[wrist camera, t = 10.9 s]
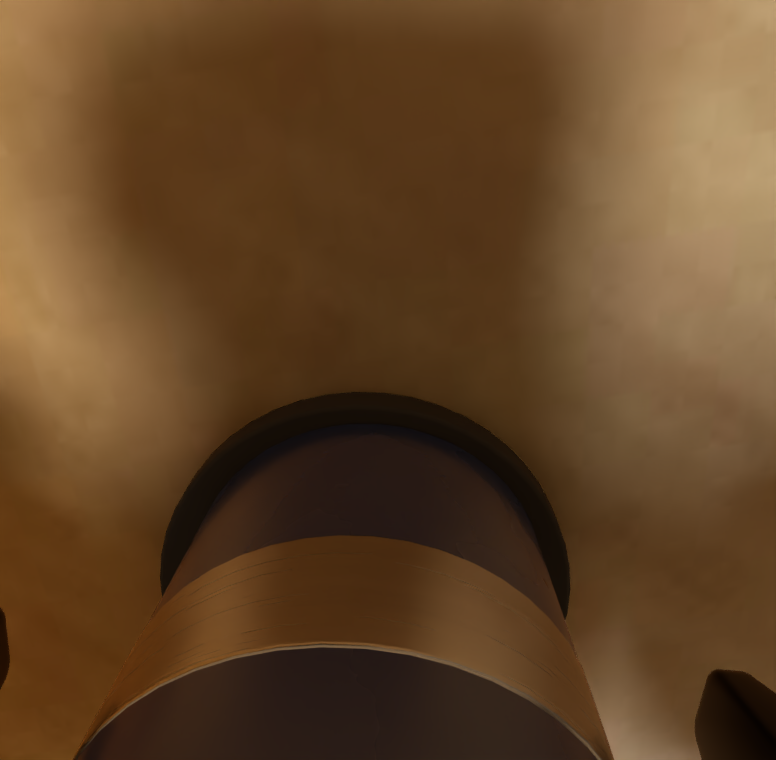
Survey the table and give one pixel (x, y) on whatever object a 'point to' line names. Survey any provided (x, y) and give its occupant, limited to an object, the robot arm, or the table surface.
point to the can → (356, 619)
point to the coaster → (364, 411)
